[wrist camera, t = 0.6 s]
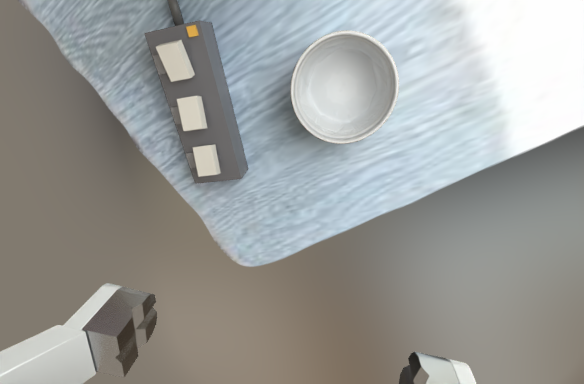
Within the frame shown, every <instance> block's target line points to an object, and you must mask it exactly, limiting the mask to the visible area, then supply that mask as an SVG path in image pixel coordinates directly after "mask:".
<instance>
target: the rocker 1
mask: <svg viewBox="0 0 584 384" xmlns="http://www.w3.org/2000/svg"><path fill="white" fill-rule="evenodd" d="M156 49H157V51H158V54H159V56H160V58H161V60H162V63H163V65H164V67H165V69H166V71H167V74H168V76H169V78H170V80H171V82H173V81H178V80H184V79H189V78H192V77H193V76H194V75H195V73H194V71H193V68H192V66H191V63H190V61H189V58H188V56H187V53H186V50H185V48H184V45H183V43H182V40H178V41H173V42H169V43H164V44H160V45H158V46H156Z"/></svg>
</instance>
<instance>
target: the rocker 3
mask: <svg viewBox="0 0 584 384" xmlns="http://www.w3.org/2000/svg"><path fill="white" fill-rule="evenodd" d="M193 152H194V157H195V162H196V167H197V172H198V177H200V176H209V175H217V174H220V173H221V172H220V167H219V161H218V156H217V151H216V145H215V144H214V145H207V146H199V147H193Z"/></svg>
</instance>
